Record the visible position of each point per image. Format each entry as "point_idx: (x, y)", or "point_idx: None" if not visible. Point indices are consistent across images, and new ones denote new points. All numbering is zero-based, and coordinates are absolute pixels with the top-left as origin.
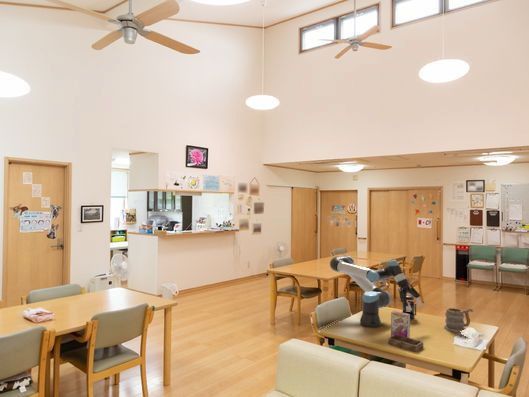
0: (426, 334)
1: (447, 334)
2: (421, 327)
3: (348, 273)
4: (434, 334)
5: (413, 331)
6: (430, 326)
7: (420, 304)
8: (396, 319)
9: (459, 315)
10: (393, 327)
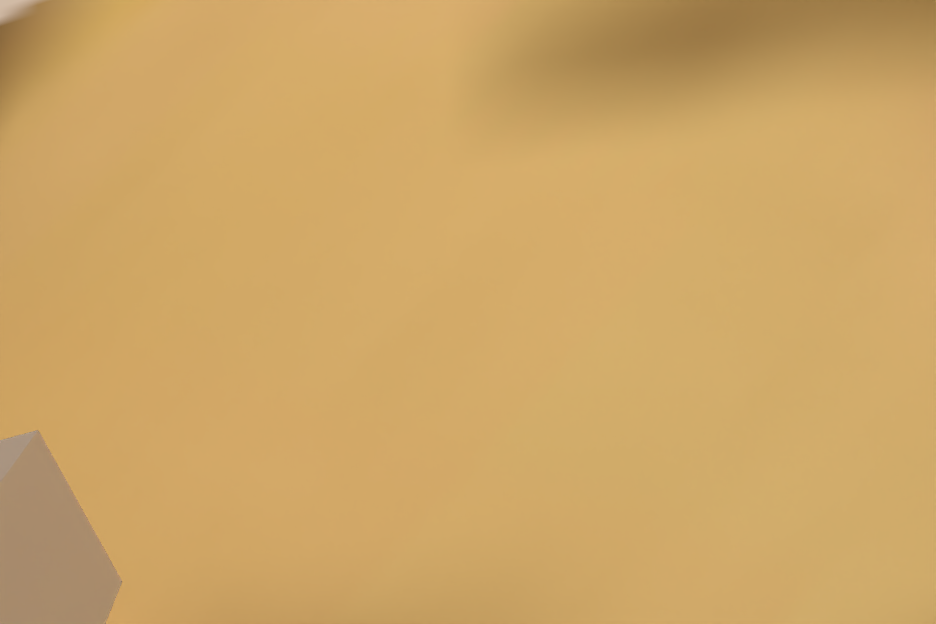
0: (488, 155)
1: (119, 37)
2: (264, 523)
3: None
4: (343, 108)
5: (610, 377)
6: None
7: (28, 564)
8: None
9: None
10: None
